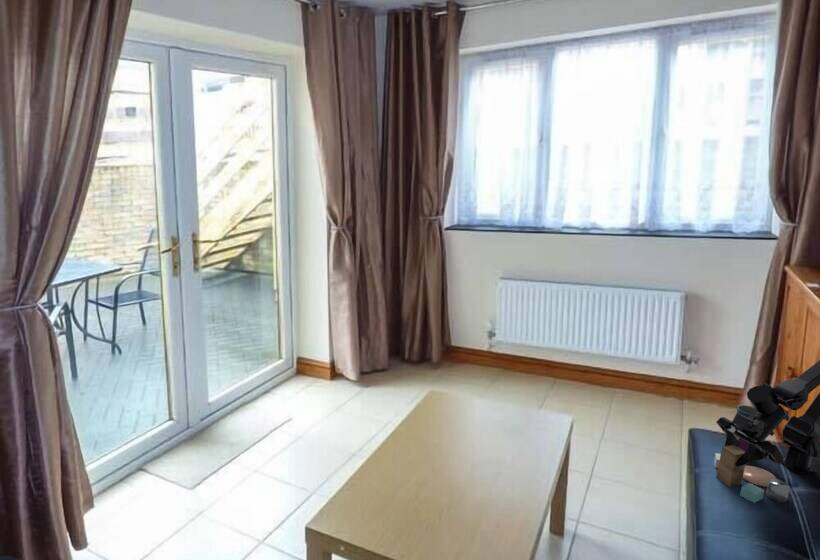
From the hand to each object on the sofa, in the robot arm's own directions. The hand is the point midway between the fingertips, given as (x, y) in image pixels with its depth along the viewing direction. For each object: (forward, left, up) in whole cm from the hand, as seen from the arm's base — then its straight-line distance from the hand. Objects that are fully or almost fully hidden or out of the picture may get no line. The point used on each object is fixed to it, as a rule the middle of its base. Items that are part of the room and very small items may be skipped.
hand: (728, 461), depth 161 cm
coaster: (-11, 0, -7) cm, 13 cm away
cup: (-17, -12, -7) cm, 22 cm away
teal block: (-1, +8, -7) cm, 11 cm away
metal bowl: (-9, +9, -7) cm, 14 cm away
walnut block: (-1, 0, -7) cm, 7 cm away
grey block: (-5, -7, -7) cm, 11 cm away
